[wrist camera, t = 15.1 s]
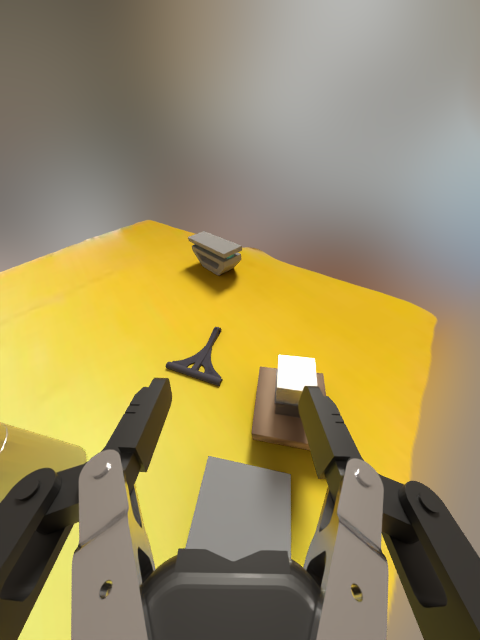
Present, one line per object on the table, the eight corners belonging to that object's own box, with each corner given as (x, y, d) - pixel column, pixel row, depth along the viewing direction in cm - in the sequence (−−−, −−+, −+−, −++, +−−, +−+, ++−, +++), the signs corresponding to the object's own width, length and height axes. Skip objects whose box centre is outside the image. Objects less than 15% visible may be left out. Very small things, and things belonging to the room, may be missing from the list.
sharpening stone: (244, 273, 71) (241, 245, 63) (228, 282, 68) (223, 254, 60) (209, 255, 86) (203, 231, 78) (195, 261, 83) (187, 237, 75)
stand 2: (253, 439, 32) (251, 433, 29) (260, 376, 40) (259, 366, 37) (327, 453, 29) (333, 448, 27) (318, 383, 38) (322, 373, 35)
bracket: (243, 337, 49) (242, 330, 47) (220, 387, 40) (217, 381, 38) (198, 326, 54) (195, 320, 52) (167, 369, 45) (163, 363, 43)
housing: (273, 414, 31) (275, 388, 24) (275, 384, 34) (277, 353, 27) (307, 420, 29) (320, 394, 22) (305, 388, 33) (315, 357, 26)
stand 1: (186, 581, 22) (174, 593, 19) (213, 460, 30) (208, 455, 28) (287, 621, 20) (291, 640, 17) (288, 477, 28) (290, 474, 25)
